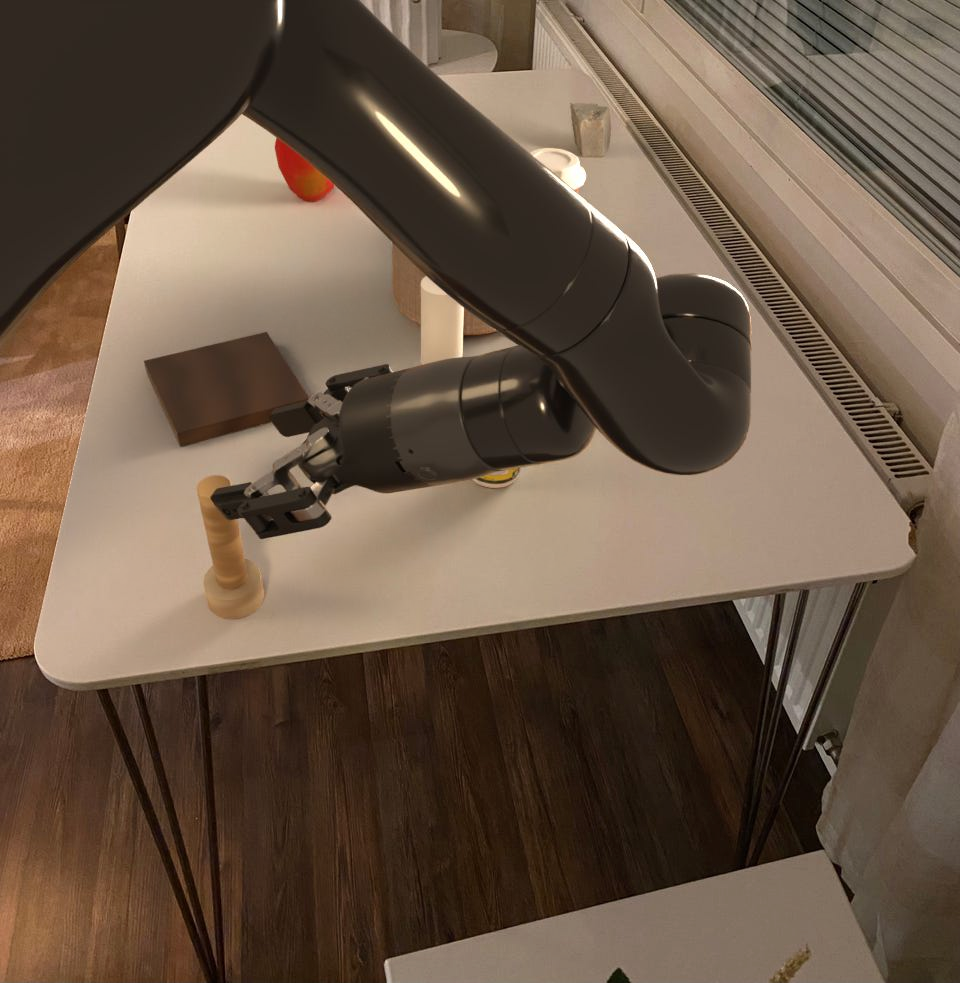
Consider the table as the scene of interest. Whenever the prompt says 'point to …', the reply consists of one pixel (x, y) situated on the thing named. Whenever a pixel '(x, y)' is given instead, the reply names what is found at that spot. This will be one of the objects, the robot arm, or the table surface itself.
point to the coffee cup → (562, 165)
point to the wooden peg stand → (227, 560)
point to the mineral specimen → (591, 128)
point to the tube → (439, 324)
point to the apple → (301, 174)
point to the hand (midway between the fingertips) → (249, 462)
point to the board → (223, 387)
